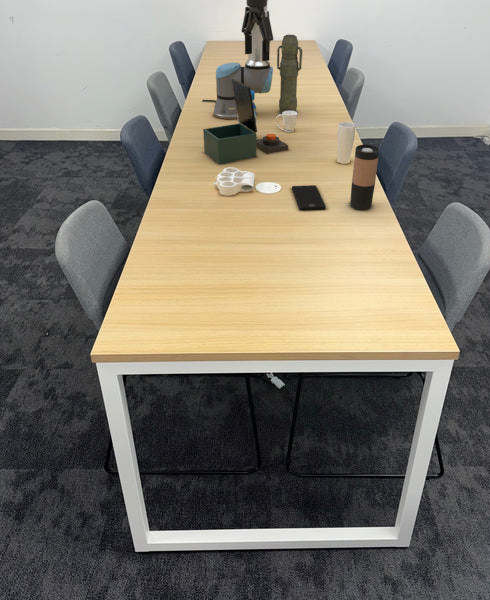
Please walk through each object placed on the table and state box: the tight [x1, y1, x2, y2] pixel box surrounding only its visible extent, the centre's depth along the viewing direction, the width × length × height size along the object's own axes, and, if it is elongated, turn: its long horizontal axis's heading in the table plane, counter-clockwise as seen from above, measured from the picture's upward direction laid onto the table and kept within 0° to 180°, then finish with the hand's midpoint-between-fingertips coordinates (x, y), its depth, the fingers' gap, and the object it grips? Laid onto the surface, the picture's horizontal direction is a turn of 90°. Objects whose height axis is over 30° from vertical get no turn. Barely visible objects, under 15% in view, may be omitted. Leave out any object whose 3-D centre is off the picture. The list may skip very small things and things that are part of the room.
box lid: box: [232, 79, 258, 134], centre depth 217 cm, size 18×15×1 cm
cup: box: [274, 111, 299, 133], centre depth 249 cm, size 7×10×8 cm
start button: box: [265, 133, 277, 140], centre depth 230 cm, size 4×4×2 cm
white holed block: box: [213, 166, 256, 197], centre depth 199 cm, size 3×18×15 cm
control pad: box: [256, 135, 289, 155], centre depth 231 cm, size 12×10×4 cm
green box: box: [202, 123, 257, 165], centre depth 222 cm, size 17×15×10 cm
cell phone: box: [291, 184, 327, 211], centre depth 191 cm, size 9×18×1 cm, turn 7°
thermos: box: [276, 34, 304, 114], centre depth 264 cm, size 9×12×35 cm
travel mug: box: [349, 144, 380, 211], centre depth 181 cm, size 8×8×20 cm
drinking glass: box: [336, 121, 356, 165], centre depth 216 cm, size 7×7×15 cm
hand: (256, 57), depth 209 cm, fingers open, 13 cm apart
